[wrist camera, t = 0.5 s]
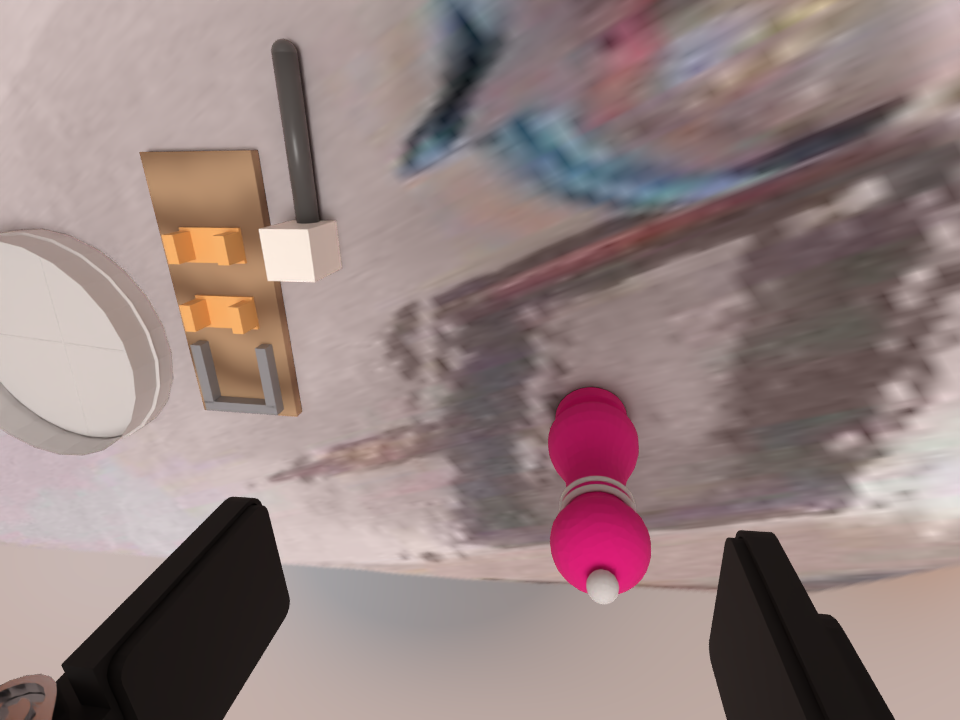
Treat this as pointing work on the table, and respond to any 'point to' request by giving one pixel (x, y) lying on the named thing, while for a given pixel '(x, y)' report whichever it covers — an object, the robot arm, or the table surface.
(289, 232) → the connector
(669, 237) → the table surface
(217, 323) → the clip
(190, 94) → the table surface
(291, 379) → the board
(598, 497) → the pepper mill
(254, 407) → the end holder
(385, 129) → the table surface
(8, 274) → the dish
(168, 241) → the clip
